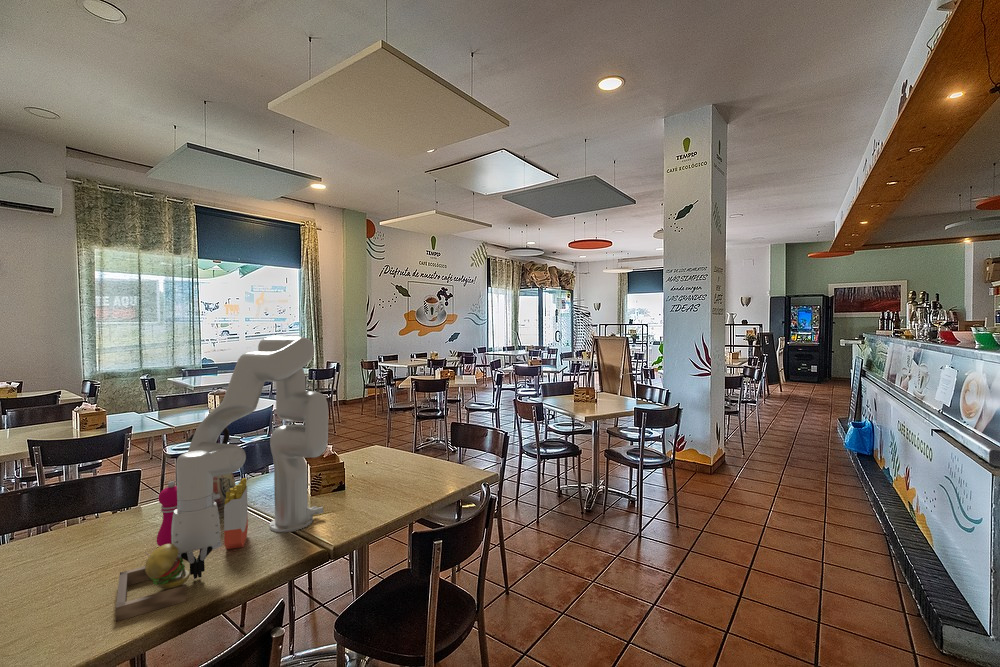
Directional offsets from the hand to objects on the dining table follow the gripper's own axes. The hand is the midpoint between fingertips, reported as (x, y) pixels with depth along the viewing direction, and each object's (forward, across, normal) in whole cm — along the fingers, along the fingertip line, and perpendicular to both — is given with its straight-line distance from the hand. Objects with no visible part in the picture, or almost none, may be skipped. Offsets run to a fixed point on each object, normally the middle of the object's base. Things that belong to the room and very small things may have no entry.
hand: (197, 575), depth 117 cm
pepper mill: (+1, +4, -21) cm, 22 cm away
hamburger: (+1, +4, 0) cm, 4 cm away
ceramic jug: (+2, -8, -48) cm, 49 cm away
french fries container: (+1, -11, -16) cm, 19 cm away
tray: (+1, +8, 0) cm, 8 cm away
